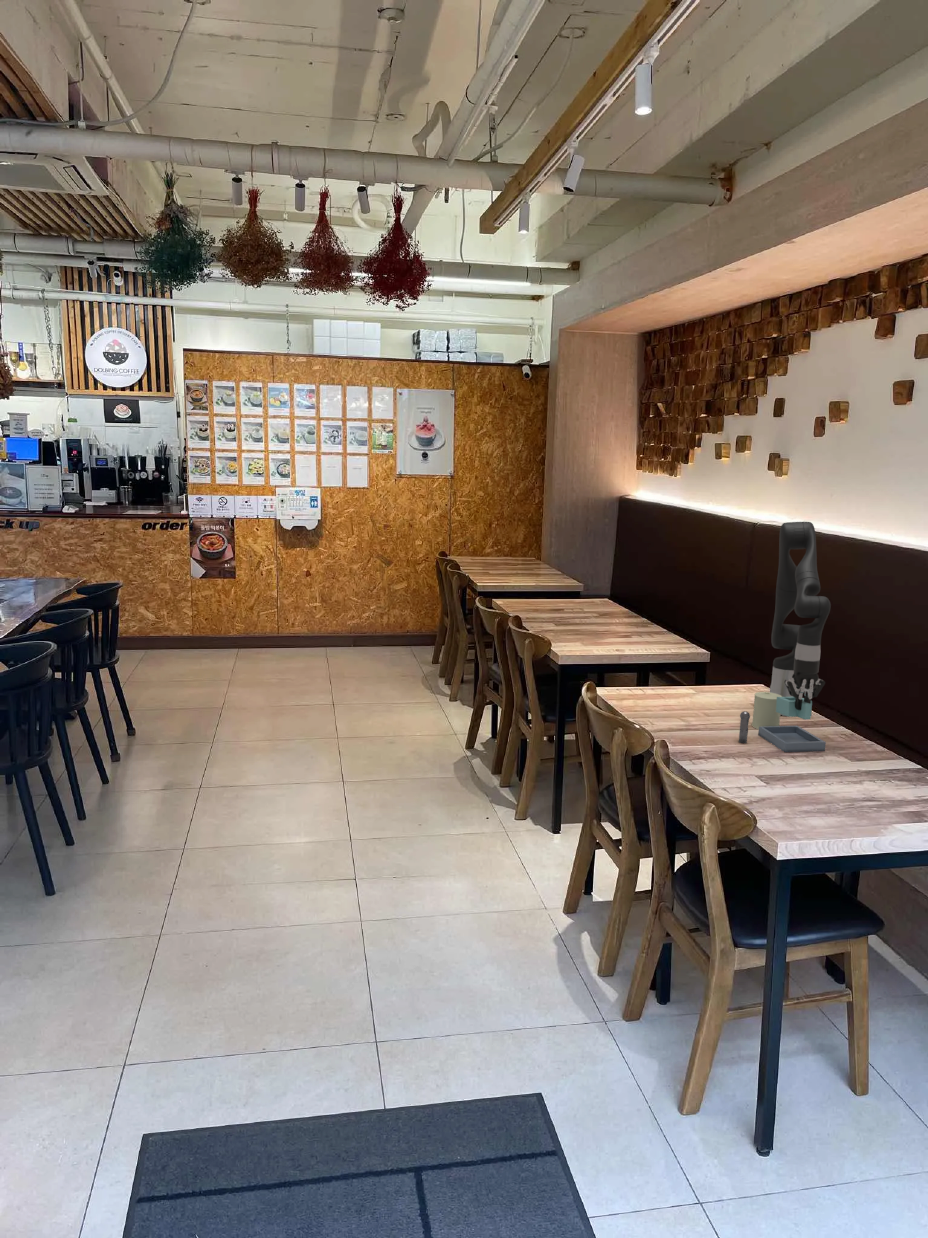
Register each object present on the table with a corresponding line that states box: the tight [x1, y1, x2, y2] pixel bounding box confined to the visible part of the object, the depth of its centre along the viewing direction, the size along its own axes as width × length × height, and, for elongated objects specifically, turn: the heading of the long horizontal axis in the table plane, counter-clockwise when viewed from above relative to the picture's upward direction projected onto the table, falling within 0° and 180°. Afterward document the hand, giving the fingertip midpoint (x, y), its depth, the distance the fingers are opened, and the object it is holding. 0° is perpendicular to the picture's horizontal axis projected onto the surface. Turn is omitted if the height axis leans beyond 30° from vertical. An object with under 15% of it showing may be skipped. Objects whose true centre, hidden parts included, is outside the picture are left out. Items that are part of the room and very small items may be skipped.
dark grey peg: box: [738, 710, 751, 744], centre depth 287 cm, size 3×3×11 cm
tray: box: [757, 725, 827, 753], centre depth 289 cm, size 18×14×3 cm
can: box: [751, 691, 782, 731], centre depth 304 cm, size 9×9×12 cm
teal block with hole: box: [776, 697, 813, 721], centre depth 285 cm, size 12×8×5 cm, turn 9°
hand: (802, 709), depth 282 cm, fingers closed on teal block with hole
